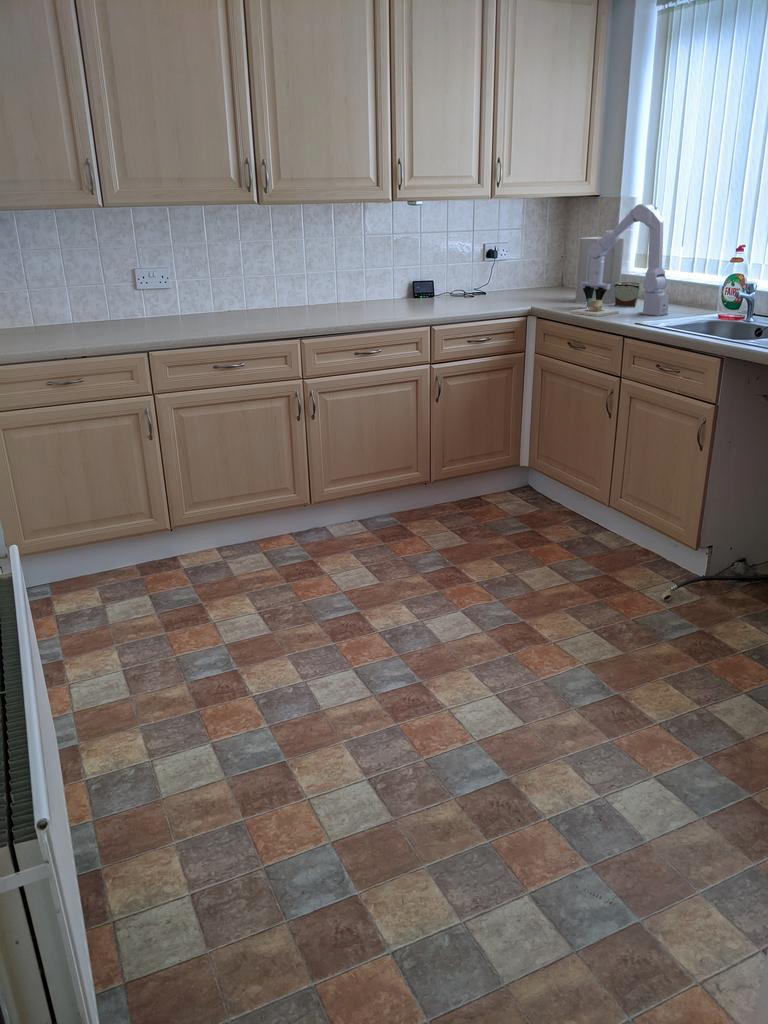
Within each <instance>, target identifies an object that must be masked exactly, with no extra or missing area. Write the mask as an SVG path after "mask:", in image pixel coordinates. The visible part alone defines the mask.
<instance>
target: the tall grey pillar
mask: <svg viewBox="0 0 768 1024" xmlns="http://www.w3.org/2000/svg"><path fill="white" fill-rule="evenodd" d="M602 237H603V236H589V237H580V238H579V246H578V247H579V249H578V258H577V259H578V262H577V274H576V287H575V299H574V300H575V301H576V302H587V300H586V295H585V293H584V291H583V288H585V287H581V286H580V283H581V282H589V273H590V260H591V256H590V255H589V248H590V246H591V245H592V244H596V243H597V240H600V239H601V238H602ZM624 246H625V238H623V237H619V240H618V241H617V242H616V243H615V244H614V245H613V246H612V247H611V248H610V249H609V250H608V252H607V254H606V256H605V258H604V267H603V279H602V283H605V284H610V289H607V291H606V292H605V294H604V295H603V298H602V304H615V287H614V284H615V282H622V280H621V278H622V268H623V257H624V248H625V247H624ZM596 287H598V286H596ZM595 289H598V288H595ZM595 289H594V292H593V296H592V298H596V293H595ZM575 301H574V302H575ZM576 302H575V303H576Z"/></svg>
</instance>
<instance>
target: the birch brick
mask: <svg viewBox="0 0 768 1024" xmlns="http://www.w3.org/2000/svg"><path fill="white" fill-rule="evenodd" d="M602 309H603V303H602V300H590V301H589V310H590V311H600V310H602Z"/></svg>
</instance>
